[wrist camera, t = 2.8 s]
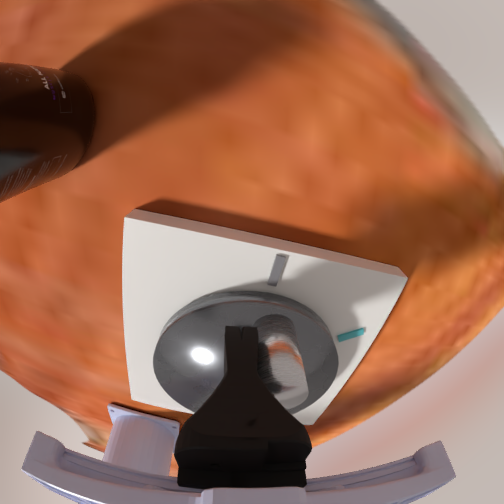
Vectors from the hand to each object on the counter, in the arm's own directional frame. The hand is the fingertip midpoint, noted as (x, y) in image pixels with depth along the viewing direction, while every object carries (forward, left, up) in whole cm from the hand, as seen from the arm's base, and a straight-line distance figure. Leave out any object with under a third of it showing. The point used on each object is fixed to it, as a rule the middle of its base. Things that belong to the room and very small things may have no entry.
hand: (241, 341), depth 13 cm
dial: (-5, -1, -3) cm, 6 cm away
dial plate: (-5, -1, -5) cm, 7 cm away
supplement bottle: (+8, +14, -5) cm, 17 cm away
